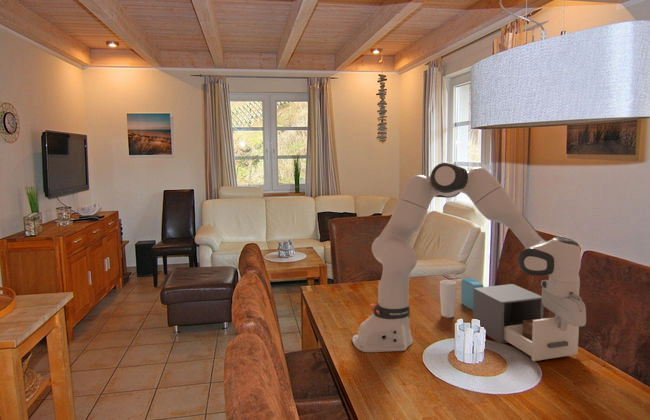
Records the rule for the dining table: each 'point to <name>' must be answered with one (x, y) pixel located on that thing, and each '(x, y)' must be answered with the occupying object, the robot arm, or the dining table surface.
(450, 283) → the drinking glass
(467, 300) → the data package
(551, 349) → the drawer
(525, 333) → the walnut block
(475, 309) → the cabinet
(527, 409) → the dining table surface
